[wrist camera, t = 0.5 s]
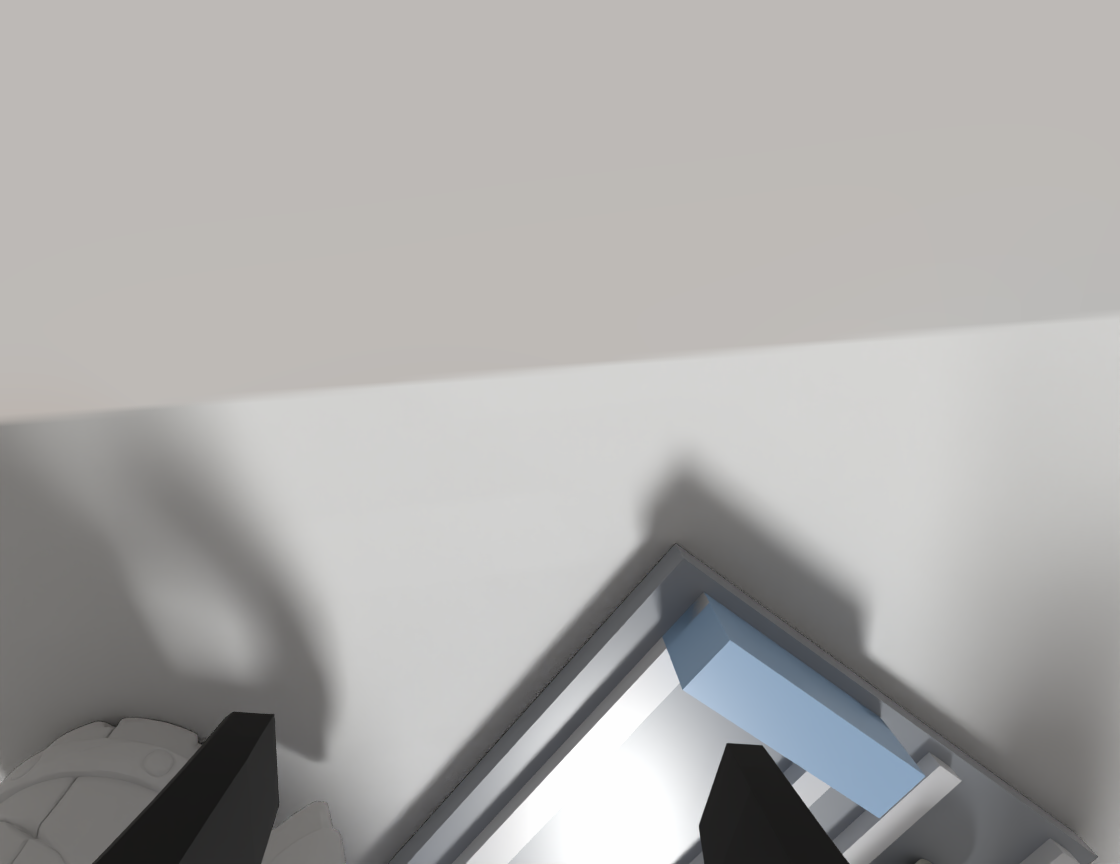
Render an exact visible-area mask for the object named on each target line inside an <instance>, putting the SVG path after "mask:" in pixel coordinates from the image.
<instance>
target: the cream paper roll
mask: <svg viewBox="0 0 1120 864" xmlns="http://www.w3.org/2000/svg"><path fill="white" fill-rule="evenodd" d="M915 864H932V863H931V862H929V861H928V860H925V859H920V860H919V861H917V862H916V863H915Z"/></svg>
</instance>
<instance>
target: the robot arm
mask: <svg viewBox="0 0 1120 864" xmlns="http://www.w3.org/2000/svg"><path fill="white" fill-rule="evenodd" d="M278 807H279V794H278V775H277V756H276V737H275V718H274V714H259V713H243V712H232V713H231V714H229V715H228V716H227V717H225V719H224V720H223V721H222V722H221V723H220V725H219V726H218V727H217V728H216V729H215V730H214V732H213V733H212V734H211V735H210V736H209V737H208V739H207V740H206V741H205V742H204V743H203V744H202V745H201V747H200V748H199V749H198V750H197V751H196V752H195V754H194V755H193V756H192V757H191V758H190V759H189V760H188V761H187V763H186V764H185V765H184V766H183V767H182V768H181V769H180V770H179V772H178V773H177V774H176V775H175V776H174V777H173V778H172V779H171V780H170V782H169V783H168V784H167V785H166V786H165V787H164V788H163V789H162V790H161V791H160V793H159V794H158V795H157V796H156V797H155V798H154V799H153V800H152V801H151V802H150V803H149V804H148V806H147V807H146V808H145V809H144V810H143V811H142V812H141V813H140V814H139V815H138V816H137V817H136V818H135V819H134V820H133V821H132V822H131V823H130V824H129V826H128V827H127V828H126V829H125V830H124V831H123V832H122V833H121V834H120V835H119V836H118V837H117V838H116V839H115V840H114V841H113V842H112V843H111V844H110V846H109V847H108V848H107V849H106V850H105V851H104V852H103V853H102V854H101V855H100V856H99V857H98V858H97V859H96V860H95V861H94V862H93V863H92V864H261V863H262V860H263V857H264V853H265V850H266V847H267V844H268V840H269V837H270V834H271V830H272V827H273V824H274V820H275V817H276V814H277V810H278ZM699 832H700V839H701V846H702V852H703V859H704V864H850V863H849V862H848V861H847V860H846V858H845V857H844V856H843V854H842V853H841V852H840V850H839V849H838V848H837V846H836V845H835V844H834V842H833V841H832V840H831V838H830V837H829V836H828V834H827V833H826V832H825V830H824V829H823V828H822V826H821V825H820V824H819V822H818V821H817V819H816V818H815V817H814V815H813V814H812V813H811V811H810V810H809V808H808V807H807V806H806V804H805V803H804V802H803V800H802V799H801V797H800V796H799V795H798V793H797V792H796V791H795V789H794V788H793V786H792V785H791V784H790V782H789V781H788V779H787V778H786V777H785V775H784V774H783V772H782V771H781V770H780V768H779V767H778V766H777V764H776V763H775V761H774V760H773V759H772V757H771V756H770V755H769V753H768V752H767V750H766V749H765V748H764V747H763V745H751V744H736V743H727V744H726V747H725V750H724V753H723V756H722V758H721V761H720V764H719V767H718V770H717V773H716V776H715V779H714V782H713V785H712V788H711V791H710V794H709V796H708V799H707V802H706V805H705V808H704V811H703V814H702V817H701V820H700V823H699Z"/></svg>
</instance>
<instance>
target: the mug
mask: <svg viewBox="0 0 1120 864" xmlns="http://www.w3.org/2000/svg"><path fill="white" fill-rule="evenodd" d="M201 745H202V744H199V743H198V737H197V734H195V733H193V732H191V731H189V730H187V729H184V728H182V727H179V726H176V725H172V724H169V723H166V722H162V721H156V720H151V719H146V718H124V719H122V720H121V721H120V722H119V724H118V726H117V727H114V726H112V725H110V724H108V723H105V722H93V723H90V724H87V725H85V726H82V727H80V728H77V729H75V730H73V731H70V732H68V733H66V734H65V735H63V736H61V737H59V738H58V739H57V740H55V741H54V742H53V743H52V744H51V745H49V746H48V747H47V748H46V749H45V750H44V751H41V752H39V753H38V754H36V755H34V756H32V757H31V758H29V759H28V760H26V761H25V762H23V763H22V764H21V765H19V766H18V767H17V768H16V769H15V770H14V771H12V772H11V773H10V774H9V775H8V776H7V777H6V778H5V779H4V780H3V782H2V783H1V784H0V864H92V863H93V862H94V861H95V860H96V859H97V858H98V857H99V856H100V855H101V854H102V853H103V852H104V851H105V850H106V849H107V848H108V847H109V846H110V844H111V843H112V842H113V841H114V840H115V839H116V838H117V837H118V836H119V835H120V834H121V833H122V832H123V831H124V830H125V829H126V828H127V827H128V826H129V824H130V823H131V822H132V821H133V820H134V819H135V818H136V817H137V816H138V815H139V814H140V813H141V812H142V811H143V810H144V809H145V808H146V807H147V806H148V804H149V803H150V802H151V801H152V800H153V799H154V798H155V797H156V796H157V795H158V794H159V793H160V791H161V790H162V789H163V788H164V787H165V786H166V785H167V784H168V783H169V782H170V780H171V779H172V778H173V777H174V776H175V775H176V774H177V773H178V772H179V770H180V769H181V768H182V767H183V766H184V765H185V764H186V763H187V761H188V760H189V759H190V758H191V757H192V756H193V755H194V754H195V752H196V751H197V750H198V749H199V748H200V747H201ZM261 864H346V862H345V853H344V847H343V842H342V838H341V834H340V832H339V831H338V830H336V829H333V826H332V821H331V816H330V811H329V807H328V804H327V803H326V802H321V801H315V802H313V803H311V804H309V805H308V806H306V807H305V808H303V809H301V810H300V811H298V812H296V813H295V814H294V815H292V816H291V817H290V818H288V819H287V820H286V821H285V822H283V823H282V824H281V825H279V826H278V827H276V828H275V829H273V830H272V831H271V834H270V837H269V840H268V844H267V847H266V850H265V853H264V857H263V860H262V863H261Z"/></svg>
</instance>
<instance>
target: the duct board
mask: <svg viewBox="0 0 1120 864" xmlns="http://www.w3.org/2000/svg"><path fill="white" fill-rule="evenodd" d="M727 743H736V744H751V745H763V747H764V748H765V749H766V750H767V752H768V753H769V755H770V756H771V757H772V759H773V760H774V761H775V763H776V764H777V766H778V767H779V768H780V770H781V771H782V772H783V774H784V775H785V777H786V778H787V779H788V781H789V782H790V784H791V785H792V786H793V788H794V789H795V791H796V792H797V793H798V795H799V796H800V797H801V799H802V800H803V802H804V803H805V804H806V806H807V807H808V808H809V810H810V811H811V813H812V814H813V815H814V817H815V818H816V819H817V821H818V822H819V824H820V825H821V826H822V828H823V829H824V830H825V832H826V833H827V834H828V836H829V837H830V838H831V840H832V841H833V842H834V844H835V845H836V846H837V848H838V849H839V850H840V852H841V853H842V854H843V856H844V857H845V858H846V860H847V861H848V862H849V863H850V864H915V863H916V862H917V861H919V860H920V859H925V860H928V861H929V862H931V863H932V864H1090V863H1091V862H1093V861H1094V860H1095V859H1096V858H1097V857H1098V856H1097V855H1096V854H1095V853H1094V852H1093V851H1092V850H1091V849H1090V848H1089V847H1088V846H1087V845H1086V844H1085V843H1084V842H1083V840H1082V839H1081V838H1080V837H1079V836H1078V835H1077V834H1076V833H1074V832H1073V831H1072V830H1070V829H1069V828H1067V827H1066V826H1065V825H1063V824H1062V823H1061V822H1059V821H1058V820H1056V819H1055V818H1054V817H1052V816H1051V815H1049V814H1048V813H1047V812H1045V811H1044V810H1043V809H1041V808H1040V807H1038V806H1037V805H1036V804H1034V803H1033V802H1032V801H1030V800H1029V799H1027V798H1026V797H1025V796H1023V795H1022V794H1021V793H1019V792H1018V791H1016V790H1015V789H1014V788H1012V787H1011V786H1010V785H1008V784H1007V783H1005V782H1004V781H1003V780H1001V779H1000V778H999V777H997V776H996V775H994V774H993V773H992V772H990V771H989V770H987V769H986V768H985V767H983V766H982V765H981V764H979V763H978V762H976V761H975V760H974V759H972V758H971V757H970V756H968V755H967V754H965V753H964V752H963V751H961V750H960V749H959V748H957V747H956V746H954V745H953V744H952V743H950V742H949V741H948V740H946V739H945V738H943V737H942V736H941V735H939V734H938V733H937V732H935V731H934V730H932V729H931V728H930V727H928V726H927V725H925V724H924V723H923V722H921V721H920V720H919V719H917V718H916V717H914V716H913V715H912V714H910V713H909V712H908V711H906V710H905V709H903V708H902V707H901V706H899V705H898V704H897V703H895V702H894V701H892V700H891V699H890V698H888V697H887V696H886V695H884V694H883V693H881V692H880V691H879V690H877V689H876V688H874V687H873V686H872V685H870V684H869V683H868V682H866V681H865V680H863V679H862V678H861V677H859V676H858V675H857V674H855V673H854V672H852V671H851V670H850V669H848V668H847V667H846V666H844V665H843V664H841V663H840V662H839V661H837V660H836V659H835V658H833V657H832V656H830V655H829V654H828V653H826V652H825V651H824V650H822V649H821V648H819V647H818V646H817V645H815V644H814V643H812V642H811V641H810V640H808V639H807V638H806V637H804V636H803V635H801V634H800V633H799V632H797V631H796V630H795V629H793V628H792V627H790V626H789V625H788V624H786V623H785V622H784V621H782V620H781V619H779V618H778V617H777V616H775V615H774V614H773V613H771V612H770V611H768V610H767V609H766V608H764V607H763V606H762V605H760V604H759V603H757V602H756V601H755V600H753V599H752V598H750V597H749V596H748V595H746V594H745V593H744V592H742V591H741V590H739V589H738V588H737V587H735V586H734V585H733V584H731V583H730V582H728V581H727V580H726V579H724V578H723V577H722V576H720V575H719V574H717V573H716V572H715V571H713V570H712V569H711V568H709V567H708V566H706V565H705V564H704V563H702V562H701V561H700V560H698V559H697V558H695V557H694V556H693V555H691V554H690V553H688V552H687V551H686V550H684V549H683V548H682V547H680V546H679V545H677V544H676V543H675V544H674V546H673V547H672V548H671V549H670V550H669V551H668V552H667V553H666V555H665V556H664V557H663V558H662V559H661V560H660V561H659V562H658V563H657V565H656V566H655V567H654V568H653V569H652V570H651V571H650V572H649V573H648V575H647V576H646V577H645V578H644V579H643V580H642V581H641V582H640V583H639V585H638V586H637V587H636V588H635V589H634V590H633V591H632V592H631V594H630V595H629V596H628V597H627V598H626V599H625V600H624V601H623V602H622V604H621V605H620V606H619V607H618V608H617V609H616V610H615V611H614V612H613V614H612V615H611V616H610V617H609V618H608V619H607V620H606V621H605V622H604V624H603V625H602V626H601V627H600V628H599V629H598V630H597V631H596V633H595V634H594V635H593V636H592V637H591V638H590V639H589V640H588V641H587V643H586V644H585V645H584V646H583V647H582V648H581V649H580V650H579V651H578V653H577V654H576V655H575V656H574V657H573V658H572V659H571V660H570V662H569V663H568V664H567V665H566V666H565V667H564V668H563V669H562V670H561V672H560V673H559V674H558V675H557V676H556V677H555V678H554V679H553V680H552V682H551V683H550V684H549V685H548V686H547V687H546V688H545V689H544V690H543V692H542V693H541V694H540V695H539V696H538V697H537V698H536V699H535V701H534V702H533V703H532V704H531V705H530V706H529V707H528V708H527V709H526V711H525V712H524V713H523V714H522V715H521V716H520V717H519V718H518V719H517V721H516V722H515V723H514V724H513V725H512V726H511V727H510V728H509V729H508V731H507V732H506V733H505V734H504V735H503V736H502V737H501V738H500V740H499V741H498V742H497V743H496V744H495V745H494V746H493V747H492V748H491V750H490V751H489V752H488V753H487V754H486V755H485V756H484V757H483V758H482V760H481V761H480V762H479V763H478V764H477V765H476V766H475V767H474V768H473V770H472V771H471V772H470V773H469V774H468V775H467V776H466V777H465V779H464V780H463V781H462V782H461V783H460V784H459V785H458V786H457V787H456V789H455V790H454V791H453V792H452V793H451V794H450V795H449V796H448V797H447V799H446V800H445V801H444V802H443V803H442V804H441V805H440V806H439V808H438V809H437V810H436V811H435V812H434V813H433V814H432V815H431V816H430V818H429V819H428V820H427V821H426V822H425V823H424V824H423V825H422V826H421V828H420V829H419V830H418V831H417V832H416V833H415V834H414V835H413V836H412V838H411V839H410V840H409V841H408V842H407V843H406V844H405V845H404V847H403V848H402V849H401V850H400V851H399V852H398V853H397V854H396V855H395V857H394V858H393V859H392V860H391V861H390V862H389V863H388V864H704V859H703V852H702V846H701V839H700V832H699V823H700V820H701V817H702V814H703V811H704V808H705V805H706V802H707V799H708V796H709V794H710V791H711V788H712V785H713V782H714V779H715V776H716V773H717V770H718V767H719V764H720V761H721V758H722V756H723V753H724V750H725V747H726V744H727Z"/></svg>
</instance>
